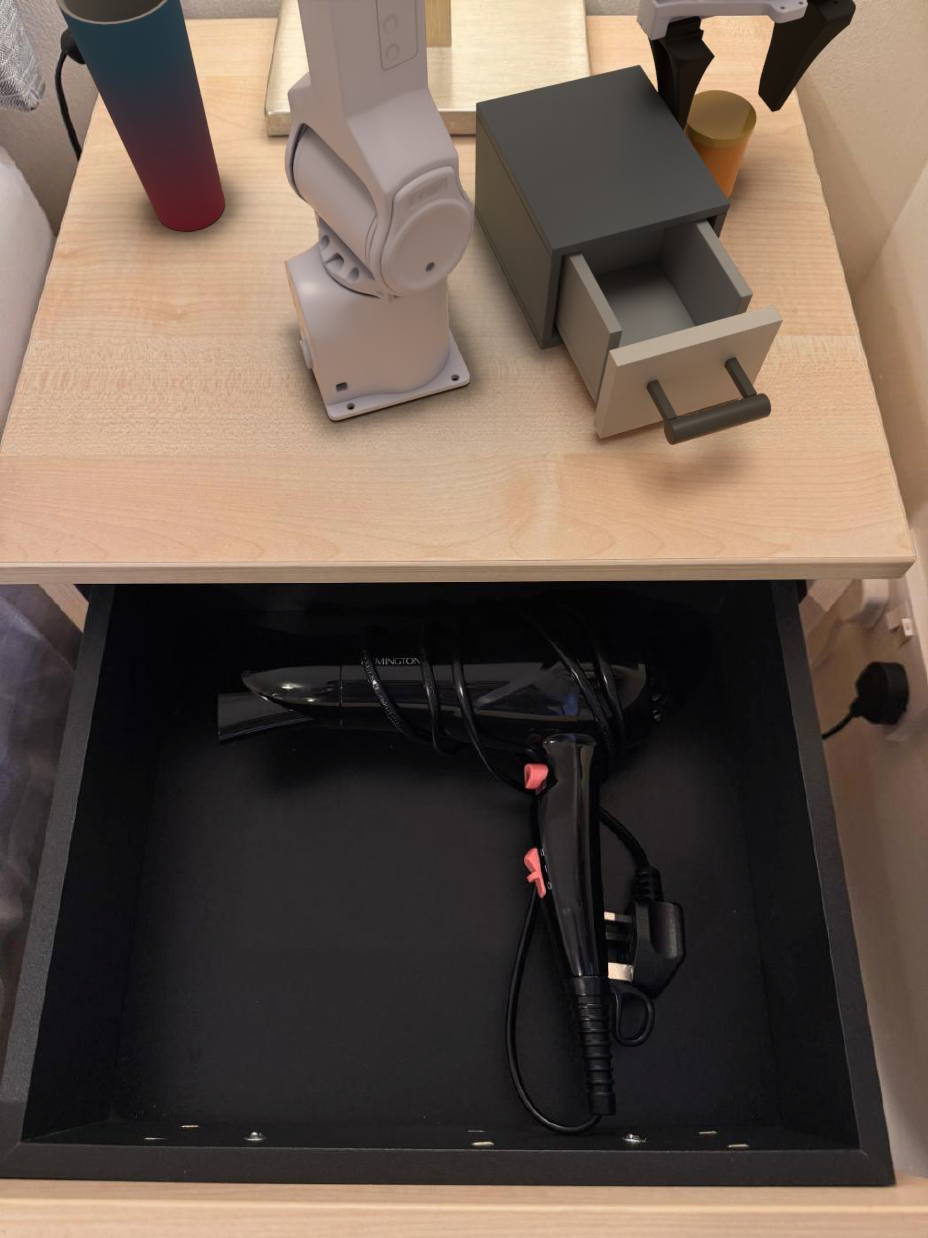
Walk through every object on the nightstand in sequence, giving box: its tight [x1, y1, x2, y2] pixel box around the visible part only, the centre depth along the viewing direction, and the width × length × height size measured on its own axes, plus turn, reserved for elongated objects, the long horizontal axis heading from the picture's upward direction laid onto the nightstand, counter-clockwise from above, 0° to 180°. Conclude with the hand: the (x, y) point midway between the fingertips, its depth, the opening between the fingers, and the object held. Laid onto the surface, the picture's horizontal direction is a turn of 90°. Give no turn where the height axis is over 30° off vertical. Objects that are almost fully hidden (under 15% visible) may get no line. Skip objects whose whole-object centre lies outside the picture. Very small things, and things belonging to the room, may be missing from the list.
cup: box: [55, 0, 226, 232], centre depth 57 cm, size 7×7×15 cm
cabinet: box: [474, 64, 731, 350], centre depth 58 cm, size 13×11×8 cm
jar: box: [684, 89, 758, 199], centre depth 62 cm, size 5×5×6 cm
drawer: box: [554, 218, 784, 446], centre depth 54 cm, size 17×10×7 cm, turn 19°
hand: (719, 115), depth 60 cm, fingers open, 7 cm apart
